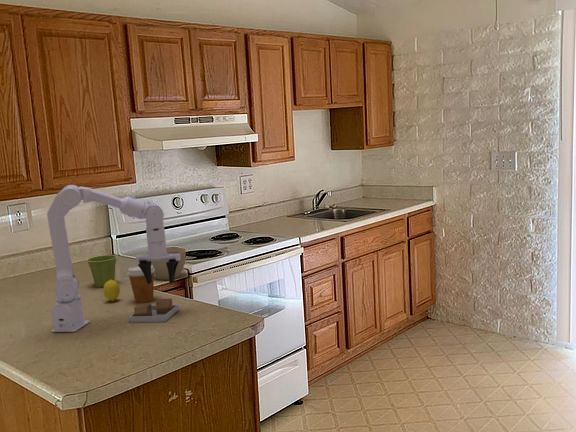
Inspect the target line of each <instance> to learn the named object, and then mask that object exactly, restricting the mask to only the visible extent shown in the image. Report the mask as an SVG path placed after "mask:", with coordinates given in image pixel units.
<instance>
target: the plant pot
mask: <svg viewBox="0 0 576 432" xmlns="http://www.w3.org/2000/svg"><path fill="white" fill-rule="evenodd" d="M117 258H118V255H115V254H102V255H101V254H100V255H97V256H96V255H95V256H91V257H89V258H87V259H86V260H85V261H86V262H87V264H88V266H89V268H90V271H91V275H92V278H93V281H94V286H95V287H96V288H102V287H103V288H104V285H105V283H106V282H107V281H109V280H113V281H115V280H116V279H115V277H116V275H115V274H116V270H115V269H116V262H117Z"/></svg>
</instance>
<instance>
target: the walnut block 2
mask: <svg viewBox="0 0 576 432" xmlns="http://www.w3.org/2000/svg"><path fill="white" fill-rule="evenodd" d="M155 305H156V311H157V314H167V313H168V312H169V311H170V310H172V309H173V305H174V304H173V298H171V297H170V298H169V297H168V298H159V299H158V300H157V301H156V302H155Z"/></svg>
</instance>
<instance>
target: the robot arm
mask: <svg viewBox="0 0 576 432" xmlns="http://www.w3.org/2000/svg"><path fill="white" fill-rule="evenodd" d="M81 202H83V204H87V203H91V202H92V203H93V202H94V203H99V204H102V205H106V206H110V207H114V208H116V209H117V208H118V209H119V211H120V213H121V214H123V215H127V216H129V217H133V218H136V219H139V220H144V219H145V225H146V227H145V231H146V233H145V234H146V242H147V249H148V250H147V251H148V252H147V253H149V254H147V255H146V254H138V255H135V263H138V264H137V266H139V268H140V269H141V270H142V272H143V274H144V276H145V278H146V281H147V284H150V283H151V282H152V275H151V261H169V262H167V263H166V265H167V268H168V273H169V280H168V282H169V284H173V283H174V282H175V279H174V277H175V271H176V268H177V265H178V263H179V260H181V256H180V254H173V253H167V250H166V248H167V241H166V234H165V233H166V231H165V225H164V223H165V222H164V218H165V213H164V210H163V209H162V207H161V206H160V205H158V204H156V203H153V202H152V203H151V201H149V200H146V201H144V200H143V199H142V200H141V199H138V198H136V195H131V196H125V197H123V198H121V197H118V196H115V195H112V194H109V193H106V192H103V191H101V190H97V189H95V188H91V187H87V186H86V187H85V186H78V185H76V184H68V185H66V186H64V187H63V188H62V189H60V191H59V192H58V193H57V194H56V195H55V197H54V198H53V201H52V203H51V204H50V206H49V209H48V210H47V214H46V217H47V222H48V223H47V224H48V229H49V233H50V234H49V235H50V240H51V245H52V252H53V257H54V264H55V271H56V284H57V285H56V286H55V287H56V288H55V296H56V299H55V300H56V303H55V305H54V306H52V307H53V308H52V309H51V319H52V327H53V329H51V333H66V332H67V333H70V332H71V333H72V332H77V331H78V330H80V329H81V328H82V327H84V326H86V325H87V324H89V323H90V322H91V320H89V319H88V320H85V316H84V310H83V309H84V307H83V302H82V301H83V300H82V295H81V294H80V293H79V292H78V290H79V286H80V282H79V280H78V278H77V277H76V276H75V272H74V267H73V263H72V258H71V257H72V256H71V250H70V244H69V239H68V233H67V226H66V221H65V216H66V215H67V214H69V212H70V210H73V209H74V208H75V207H77V206H79V205H80V203H81Z"/></svg>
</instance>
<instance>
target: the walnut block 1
mask: <svg viewBox="0 0 576 432" xmlns="http://www.w3.org/2000/svg"><path fill="white" fill-rule="evenodd" d="M151 305H152V303H150V302H146V303H137V305H135V306H134V307H133V310H134V313H135V316H152V307H151Z"/></svg>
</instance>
